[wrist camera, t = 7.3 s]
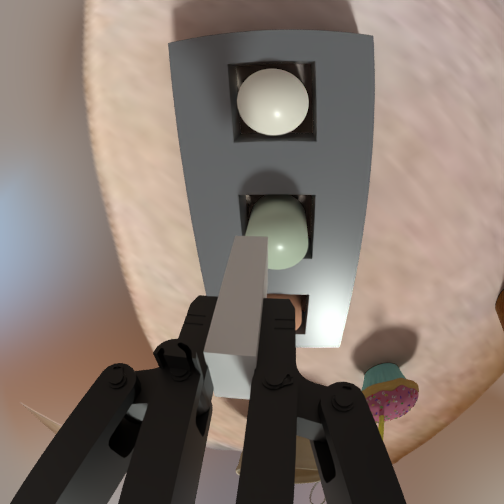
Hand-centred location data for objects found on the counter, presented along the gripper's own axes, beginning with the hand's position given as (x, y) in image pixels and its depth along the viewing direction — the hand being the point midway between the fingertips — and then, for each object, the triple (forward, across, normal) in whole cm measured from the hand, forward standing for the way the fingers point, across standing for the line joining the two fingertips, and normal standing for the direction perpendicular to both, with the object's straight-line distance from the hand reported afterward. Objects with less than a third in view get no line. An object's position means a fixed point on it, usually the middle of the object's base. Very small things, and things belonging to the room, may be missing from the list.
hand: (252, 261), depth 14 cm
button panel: (+9, +1, -2) cm, 9 cm away
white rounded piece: (+9, +1, +7) cm, 11 cm away
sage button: (+8, +1, -2) cm, 8 cm away
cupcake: (+10, +16, -24) cm, 30 cm away
